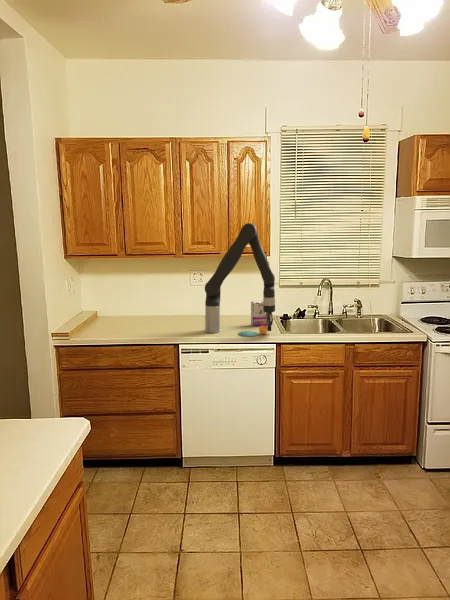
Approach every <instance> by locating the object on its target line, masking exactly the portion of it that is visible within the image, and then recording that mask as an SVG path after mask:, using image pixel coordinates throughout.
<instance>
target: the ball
mask: <svg viewBox="0 0 450 600" xmlns="http://www.w3.org/2000/svg"><path fill="white" fill-rule="evenodd" d="M258 331H259V332H258V333H260V334H261V335H265V334H267V333H268V332H269V331H268V328H267V326H264V325H263V326H259V328H258Z"/></svg>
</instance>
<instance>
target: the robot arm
mask: <svg viewBox="0 0 450 600" xmlns="http://www.w3.org/2000/svg"><path fill="white" fill-rule="evenodd" d="M257 229H258V228H257V227H256V225H255V224H254V223H251V222H249V223H247V222H246V223H244V224H243V225H242V226H241V229H240V231H239V233H238V235H237V237H236V238H235V240H234V242H232V244H231V245H230V247H229V248H228V249H227V250H226V252H225V254H224V255H223V257H222V258H221V260H220V262H219V264H218V266H217V267H216V270H215V271H214V273H213V275H212V276H211V277H210V278H209V280H208V281H207V282H206V283H205V285H204V292H205V303H204V304H205V305H204V307H205V309H204V310H205V311H204V313H205V315H204V318H205V319H204V331H205V333H209V334H217V333H220V331H221V330H220V329H221V325H220V323H221V321H220V320H221V315H220V313H221V291H222V290H221V286H222V284H223V283H224V281H225V279H226V278H227V277H228V276H229V275H230V274H231V272H233V270H234V269H235V267H236V266H237V264H238V262H239V261H240V259H241V257H242V255H243V253H244V250H245V248H246V247H247V246H248V245H249V246H250V248H251V251H252V255H253V258H254V260H255V263H256V266H257V268H258V270H259V273H260V275H261V278H262V282H263V291H262V292H263V293H262V295H263V299H262V301H263V311H264V312H266V315H265V316H266V323H267V326H266V327H267V328H268V331H267V332H271V331H272V325H273V323H274V315H273V313H274V312H276V298H275V296H276V295H275V293H276V291H275V281H276V279H275V278H276V277H275V273H273V271H272V270H271V267H270V263H269V261H268V257H267V255H266V254H265V252H264V249H263V247H262V244H261V243H260V239H259V235H258V230H257Z"/></svg>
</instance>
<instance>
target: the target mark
mask: <svg viewBox="0 0 450 600" xmlns="http://www.w3.org/2000/svg"><path fill="white" fill-rule="evenodd" d="M237 335H238V336H240V337H243V338H244V337H245V338H253V337H257V336H259V335H260V334H259V332H258V331H257V332H256V331H253V330H251V331H250V330H245V331H244V330H243V331H239V332H238V333H237Z"/></svg>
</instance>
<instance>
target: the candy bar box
mask: <svg viewBox="0 0 450 600" xmlns="http://www.w3.org/2000/svg"><path fill="white" fill-rule="evenodd" d="M265 315H266V312H264V311H263V300H258V301H256V300H255V301H251V302H250V326H251V327H261V326H263V325H264V326H266V327H267V323H266V316H265Z"/></svg>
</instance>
